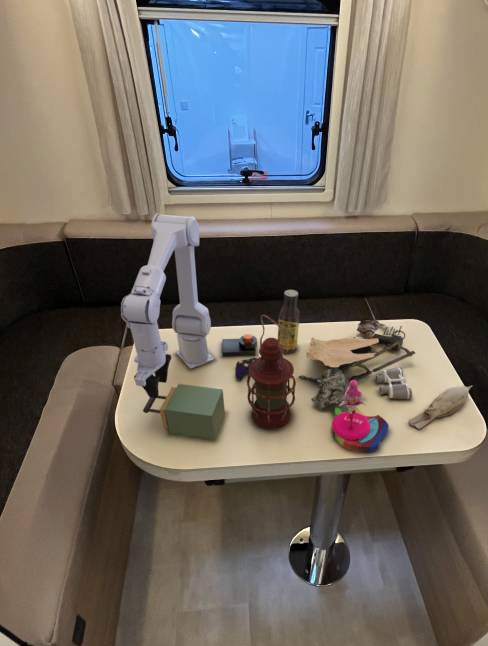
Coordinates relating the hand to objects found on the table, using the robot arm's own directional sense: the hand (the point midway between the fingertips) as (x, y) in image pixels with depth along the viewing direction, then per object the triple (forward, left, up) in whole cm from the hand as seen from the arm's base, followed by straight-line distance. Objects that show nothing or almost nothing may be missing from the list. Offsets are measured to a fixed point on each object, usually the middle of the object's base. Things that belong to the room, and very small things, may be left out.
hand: (158, 389), depth 107 cm
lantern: (+15, +24, -11) cm, 30 cm away
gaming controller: (-4, +29, -11) cm, 31 cm away
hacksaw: (+19, +62, -9) cm, 65 cm away
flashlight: (+4, +72, -11) cm, 73 cm away
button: (-14, +34, -7) cm, 37 cm away
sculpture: (+40, +63, -6) cm, 75 cm away
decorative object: (+38, +41, -9) cm, 57 cm away
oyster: (+4, +73, -4) cm, 73 cm away
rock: (+15, +37, -10) cm, 41 cm away
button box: (-15, +32, -10) cm, 36 cm away
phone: (+7, +50, -10) cm, 51 cm away
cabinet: (+6, +6, -10) cm, 14 cm away
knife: (+13, +46, -10) cm, 49 cm away
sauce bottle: (-7, +45, -11) cm, 46 cm away
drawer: (+3, +3, -10) cm, 10 cm away
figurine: (+31, +37, -8) cm, 49 cm away
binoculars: (+25, +58, -11) cm, 64 cm away
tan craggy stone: (+10, +53, -5) cm, 54 cm away
